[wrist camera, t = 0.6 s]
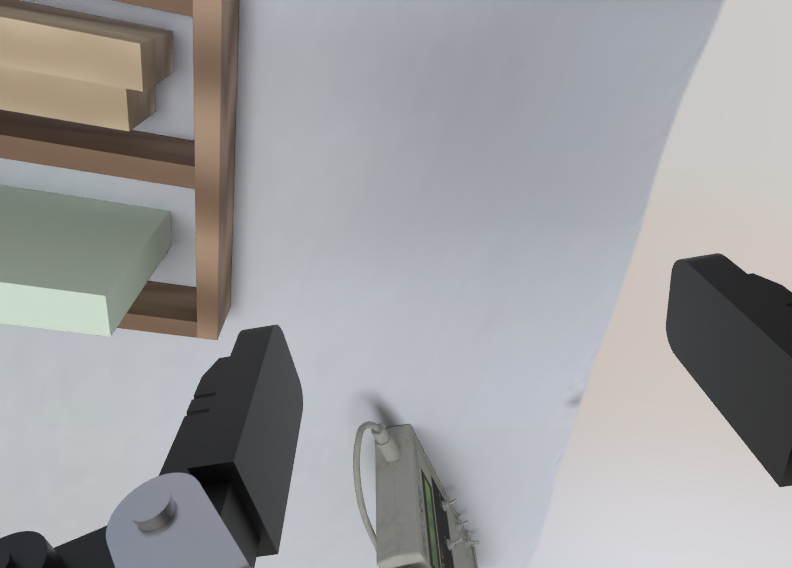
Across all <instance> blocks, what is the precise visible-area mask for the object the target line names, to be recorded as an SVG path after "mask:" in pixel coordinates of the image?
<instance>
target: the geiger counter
mask: <svg viewBox="0 0 792 568" xmlns="http://www.w3.org/2000/svg"><path fill="white" fill-rule="evenodd" d="M367 428H372V430H371V432H372V434H373V436H374V437H375V451H376V535H375V533H374V530H373V528H372V526H371V523H370V521H369V518H368V515H367V512H366V508H365V504H364V499H363V494H362V487H361V478H360V447H361V441H362V435H363V432H364V430H365V429H367ZM353 470H354V483H355V491H356V497H357V502H358V507H359V510H360V514H361V517H362V520H363V523H364V525H365V528H366V530H367V532H368V535H369V537H370V539H371V541H372V543H373V545H374V547H375V550H376V552H377V565H378V567H379V568H478V565H477V559H476V554H475V548H474V546H473V544H479V541H471V540H470V538H469V536H468V534H467V532H466V530H465V528H464V526H463V525H466V524H468V523H469V521H465V522H464V523H461V521H460V519H459V517H458V515H457V513H456V511H455V509H454V507H453V505H452V503H454V502H456V499H454V500H452V501H450V500H449V498H448V496H447V494H446V492H445V490H444V488H443V486H442V484H441V482H440V481H439V479H438V477H437V475H436V473H435V471H434V469H433V467H432V465H431V463H430V461H429V460H428V458H427V456H426V454H425V452H424V450H423V448H422V446H421V444H420V442H419V440H418V439H417V437H416V435H415V433H414V431H413V429H412V427H411V425H410V424H407V425H400V426H393V427H390V428H387V429H386V428H385V427H384V425H383V424H376V423H374V422H369V421H368V422H365V423H363V424H362V425H361V426H360V427H359V428H358V431H357V434H356V439H355V445H354V454H353Z"/></svg>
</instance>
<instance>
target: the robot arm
mask: <svg viewBox="0 0 792 568" xmlns="http://www.w3.org/2000/svg"><path fill="white" fill-rule="evenodd" d="M666 332H667V337H668V341H669V344H670V347H671V349H672V351H673V353H674V354H675V355H676V357H677V358H678V359H679V361H680V362H681V363H682V364H683V366H684V367H685V368H686V369H687V371H688V372H689V373H690V375H691V376H692V377H693V378H694V380H695V381H696V382H697V383H698V384H699V386H700V387H701V388H702V390H703V391H704V392H705V393H706V395H707V396H708V397H709V398H710V400H711V401H712V402H713V404H714V405H715V406H716V407H717V408H718V410H719V411H720V412H721V414H722V415H723V416H724V417H725V419H726V420H727V421H728V422H729V424H730V425H731V426H732V427H733V429H734V430H735V431H736V432H737V434H738V435H739V436H740V437H741V439H742V440H743V441H744V442H745V444H746V445H747V446H748V448H749V449H750V450H751V451H752V453H753V454H754V455H755V456H756V458H757V459H758V460H759V461H760V463H761V464H762V465H763V466H764V468H765V469H766V470H767V472H768V473H769V474H770V475H771V477H772V478H773V479H774V480H775V482H776V483H777V484H778V485H779V487H784V486H791V485H792V292H790V291H789V290H788V289H786V288H785V287H784V286H783V285H780V284H778V283H775V282H773V281H770V280H768V279H765V278H763V277H761V276H758V275H755V274H747V273H745V272H744V271H743V270H742V269H740V268H739V267H738V266H737V265H735V264H734V263H733V262H732V261H730V260H729V259H728V258H727V257H725V256H724V255H722V254H717V253H716V254H711V255H704V256H698V257H692V258H686V259H681V260H677V261H676V262H675V263H674V265H673V268H672V274H671V283H670V292H669V301H668V311H667V320H666ZM302 411H303V395H302V388H301V384H300V380H299V377H298V374H297V371H296V368H295V366H294V363H293V360H292V357H291V354H290V351H289V348H288V346H287V343H286V340H285V337H284V334H283V332H282V330H281V328H280V327H279V326H278V325H271V326H265V327H259V328H253V329H247V330H242V331H241V332H240V333H239V335H238V338H237V340H236V343H235V345H234V348H233V350H232V353H231V356H230V357H224V358H219V359H218V360H217V361H216V362H215V363H214V364H213V365H212V367H211V368H210V369H209V370H208V371H207V372H206V373H205V374H204V375H203V376H202V378H201V380H200V383H199V385H198V387H197V389H196V392H195V394H194V400H192V401H191V403H190V405H189V408H188V410H187V416H185V417H184V419H183V421H182V424H181V426H180V428H179V431H178V433H177V435H176V437H175V440H174V442H173V444H172V447H171V449H170V451H169V453H168V456H167V458H166V460H165V463H164V465H163V467H162V469H161V472H160V474H159V476H158V477H155V478H153V479H151V480H149V481H147V482H145V483H143V484H142V485H140V486H139V487H137V488H136V489H134V490H133V491H132V492H131V493H130V494H128V495H127V496H126V497H125V498H124V499H123V500H122V501H121V503H120V504H119V505H118V506H117V508H116V509H115V511H114V512H113V514H112V515H111V518H110V520H109V522H108V525H107V526H105V527H103V528H101V529H98V530H96V531H93V532H91V533H89V534H86V535H84V536H81V537H79V538H77V539H74V540H72V541H69V542H67V543H65V544H62V545H60V546H57V547H55V548H53V547H52V546H51V545H50V544H49V542H48V541H47V540H46V539H45V538H44V537H43V536H42V535H41V534H39V533H37V532H34V531H24V532H18V533H14V534H10V535H8V536H5V537H3V538H1V539H0V568H254V566H255V561H256V557H259V556H267V555H274V554H278V552H279V546H280V540H281V534H282V528H283V522H284V516H285V511H286V505H287V499H288V493H289V487H290V481H291V475H292V470H293V464H294V458H295V452H296V446H297V440H298V434H299V429H300V423H301V417H302Z"/></svg>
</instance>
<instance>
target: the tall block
mask: <svg viewBox="0 0 792 568" xmlns="http://www.w3.org/2000/svg"><path fill="white" fill-rule="evenodd" d="M170 247H171V229H170V211H166V210H160V209H153V208H147V207H140V206H134V205H127V204H121V203H114V202H108V201H101V200H95V199H88V198H82V197H75V196H69V195H62V194H56V193H49V192H43V191H36V190H30V189H23V188H17V187H10V186H4V185H0V323H4V324H12V325H20V326H28V327H36V328H44V329H53V330H61V331H69V332H77V333H85V334H94V335H102V336H110V337H111V335H112V334H113V332H114V331H115V329H116V328H117V326H118V325H119V323H120V322H121V320H122V319H123V317H124V316H125V314H126V313H127V311H128V310H129V308H130V307H131V305H132V304H133V302H134V301H135V299H136V298H137V296H138V295H139V293H140V292H141V290H142V289H143V287H144V286H145V284H146V283H147V281H148V280H149V278H150V277H151V275H152V274H153V272H154V271H155V269H156V268H157V266H158V265H159V263H160V262H161V260H162V259H163V257H164V256H165V254H166V253H167V251H168V250H169V248H170Z"/></svg>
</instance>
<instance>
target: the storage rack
mask: <svg viewBox="0 0 792 568" xmlns="http://www.w3.org/2000/svg"><path fill="white" fill-rule="evenodd" d="M113 1H118V2H123V3H128V4H133V5H138V6H143V7H147V8H152V9H157V10H162V11H167V12H172V13H177V14H182V15H187V16H192V17H193V60H194V134H195V141H191V140H185V139H179V138H173V137H167V136H162V135H156V134H150V133H144V132H138V131H133V130H130V131H124V130H118V129H112V128H106V127H100V126H94V125H89V124H83V123H77V122H71V121H65V120H59V119H54V118H48V117H42V116H36V115H30V114H24V113H19V112H13V111H7V110H1V109H0V158H5V159H11V160H18V161H24V162H30V163H36V164H43V165H49V166H55V167H61V168H68V169H74V170H80V171H86V172H92V173H99V174H105V175H111V176H117V177H124V178H130V179H136V180H142V181H149V182H155V183H161V184H167V185H173V186H180V187H186V188H192V189H195V208H196V283H197V288H194V287H187V286H179V285H172V284H165V283H157V282H150V281H147V283H146V284H145V286H144V287H143V289H142V290H141V292H140V293H139V295H138V296H137V298H136V299H135V301H134V302H133V304H132V305H131V307H130V308H129V310H128V311H127V313H126V314H125V316H124V317H123V319H122V320H121V322H120V323H119V325H118V326H117V328H123V329H131V330H139V331H147V332H155V333H163V334H171V335H180V336H188V337H196V338H204V339H212V340H218V337H219V335H220V332H221V330H222V327H223V324H224V322H225V319H226V317H227V314H228V312H229V309H230V302H231V267H232V232H233V198H234V163H235V129H236V94H237V60H238V25H239V0H113Z"/></svg>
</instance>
